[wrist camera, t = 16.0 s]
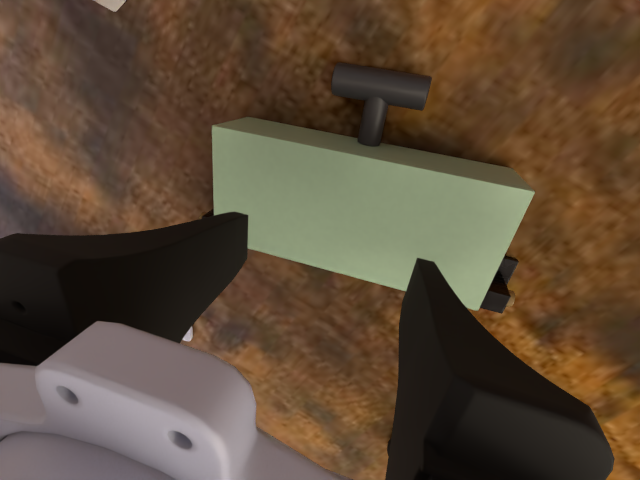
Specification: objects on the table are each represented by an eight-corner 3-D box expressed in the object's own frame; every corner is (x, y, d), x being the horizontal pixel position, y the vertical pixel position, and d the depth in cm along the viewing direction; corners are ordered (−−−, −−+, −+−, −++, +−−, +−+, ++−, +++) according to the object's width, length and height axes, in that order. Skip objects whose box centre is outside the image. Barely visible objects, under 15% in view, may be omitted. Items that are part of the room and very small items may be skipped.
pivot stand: (216, 186, 22) (191, 200, 20) (517, 259, 19) (531, 286, 17) (217, 225, 24) (194, 242, 22) (497, 299, 21) (506, 329, 18)
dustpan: (213, 239, 19) (245, 214, 23) (478, 311, 17) (468, 271, 20) (209, 42, 15) (249, 48, 18) (579, 100, 12) (544, 94, 15)
